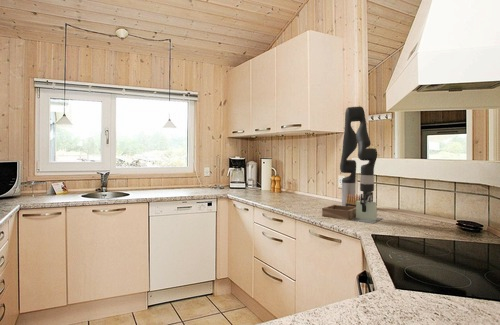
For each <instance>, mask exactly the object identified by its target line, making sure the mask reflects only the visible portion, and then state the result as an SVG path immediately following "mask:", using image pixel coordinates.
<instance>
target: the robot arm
mask: <svg viewBox="0 0 500 325" xmlns="http://www.w3.org/2000/svg"><path fill="white" fill-rule="evenodd" d="M365 113H366V112H365V110H364V107H362V106H360V105H359V106H350V107H347V108H346V109H345V112H344V132H343V140H342V153H341V159H340V163H339V170H340V172H341V173H342V174H350V175H348V176H345V177H343V178H342V179H341V206H346V199H347V193H348V195H349V194H351V195H352V194H353V198H354V194H355V195H356V189H357V187H356V184H357V183H356V182H357V180H356V178H357V161H356V160H355V159H348V158H349V157H350V156H351V155H352V154H353V152H354V151H355V150H356V149H357V147H358V149H357V158H358V160H360V161H365V162H366V161H368V162H367V163H366V164H362V165H361V167H360V177H359V178H360V180H359V183H360V184H359V191H360V192H362V193H360V204H361V205H362V212H366V204H367V202H374V190H375V176H374V174H375V173H374V172H375V164H376V161H377V159H378V151H377V150H376V148H374V147H373V148H372V147H371V148H370V146H371V143H372V142H371V140H370V137H369V133H368V128H367V127H368V126H367V119H366V114H365ZM353 122H359V123H360V124H359V127H358V129H357V130H356V132H355V131H354V129H353V126H352V123H353ZM363 202H364V203H363Z"/></svg>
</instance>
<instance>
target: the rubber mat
mask: <svg viewBox="0 0 500 325" xmlns="http://www.w3.org/2000/svg"><path fill="white" fill-rule="evenodd" d="M351 220H352V221H353V222H358V221H359V222H360V223H367V224H372V225H373V224H375V223H377V222H379V221H381V220H383V218H382V217H377V220H375V221H374V220H366V219H359V218H356V217H354V218H352V219H350V221H351ZM352 221H351V222H352Z"/></svg>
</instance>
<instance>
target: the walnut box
mask: <svg viewBox="0 0 500 325" xmlns="http://www.w3.org/2000/svg"><path fill="white" fill-rule="evenodd" d="M321 209H322V210H321V212H322V213H321V214H322V215H321V216H322V217H325V218H332V219H339V220H345V219H346V221H349V220H351V219H353V218H356V207H350V206H342V204H341V205H340V204H331V205H329V206H324V207H321Z"/></svg>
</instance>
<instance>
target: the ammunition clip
mask: <svg viewBox="0 0 500 325" xmlns="http://www.w3.org/2000/svg"><path fill="white" fill-rule="evenodd" d="M360 197H361V194H356V193H355V194H354V198H353V194H352V195H351V194H349V195H348V193H347V199H346V206H350V207H356V201H360Z"/></svg>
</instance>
